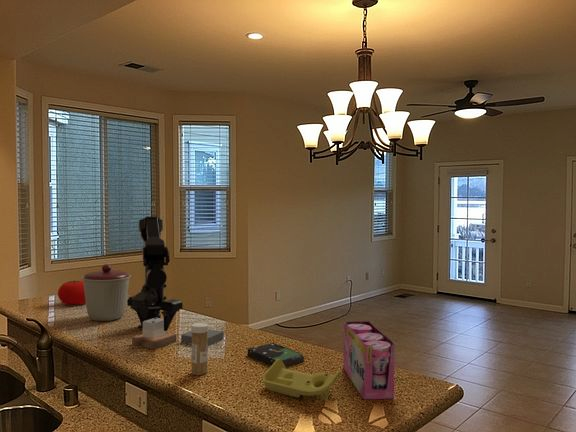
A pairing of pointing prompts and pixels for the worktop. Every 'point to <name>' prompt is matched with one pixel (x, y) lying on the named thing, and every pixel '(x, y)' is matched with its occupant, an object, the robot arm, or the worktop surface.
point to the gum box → (369, 360)
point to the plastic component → (298, 381)
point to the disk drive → (275, 354)
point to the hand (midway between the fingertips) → (154, 329)
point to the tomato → (72, 293)
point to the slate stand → (212, 337)
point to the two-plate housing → (153, 328)
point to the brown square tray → (154, 341)
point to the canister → (106, 293)
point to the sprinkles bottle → (199, 348)
